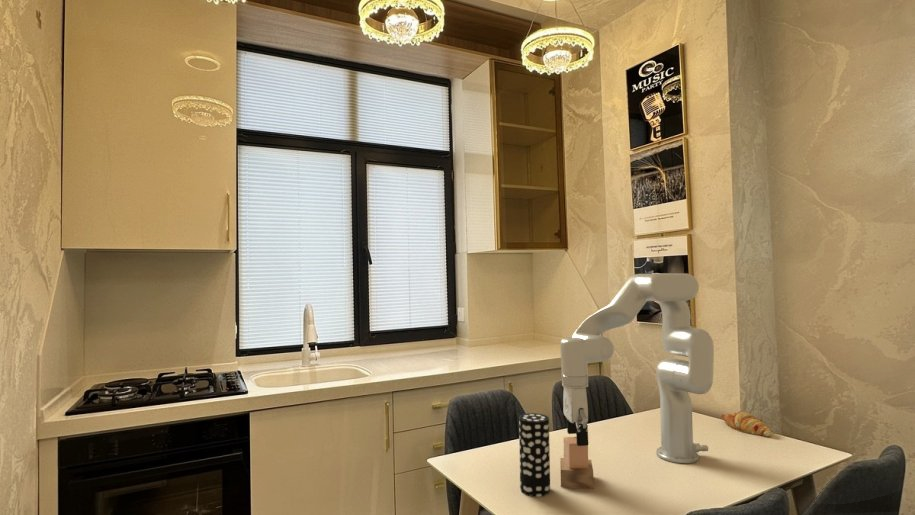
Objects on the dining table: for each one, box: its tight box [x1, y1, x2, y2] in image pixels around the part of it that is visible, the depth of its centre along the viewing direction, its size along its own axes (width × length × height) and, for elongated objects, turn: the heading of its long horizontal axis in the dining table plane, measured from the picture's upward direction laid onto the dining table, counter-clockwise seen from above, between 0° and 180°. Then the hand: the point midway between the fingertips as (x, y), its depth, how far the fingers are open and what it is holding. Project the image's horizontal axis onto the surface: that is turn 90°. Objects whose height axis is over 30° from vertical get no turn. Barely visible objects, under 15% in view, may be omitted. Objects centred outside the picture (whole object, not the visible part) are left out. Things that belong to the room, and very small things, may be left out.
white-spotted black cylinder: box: [518, 412, 551, 498], centre depth 135 cm, size 8×8×20 cm
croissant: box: [721, 410, 773, 437], centre depth 183 cm, size 21×10×8 cm, turn 20°
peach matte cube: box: [563, 436, 589, 469], centre depth 141 cm, size 6×6×7 cm
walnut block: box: [559, 457, 595, 490], centre depth 140 cm, size 9×9×5 cm
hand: (577, 439), depth 141 cm, fingers open, 9 cm apart
